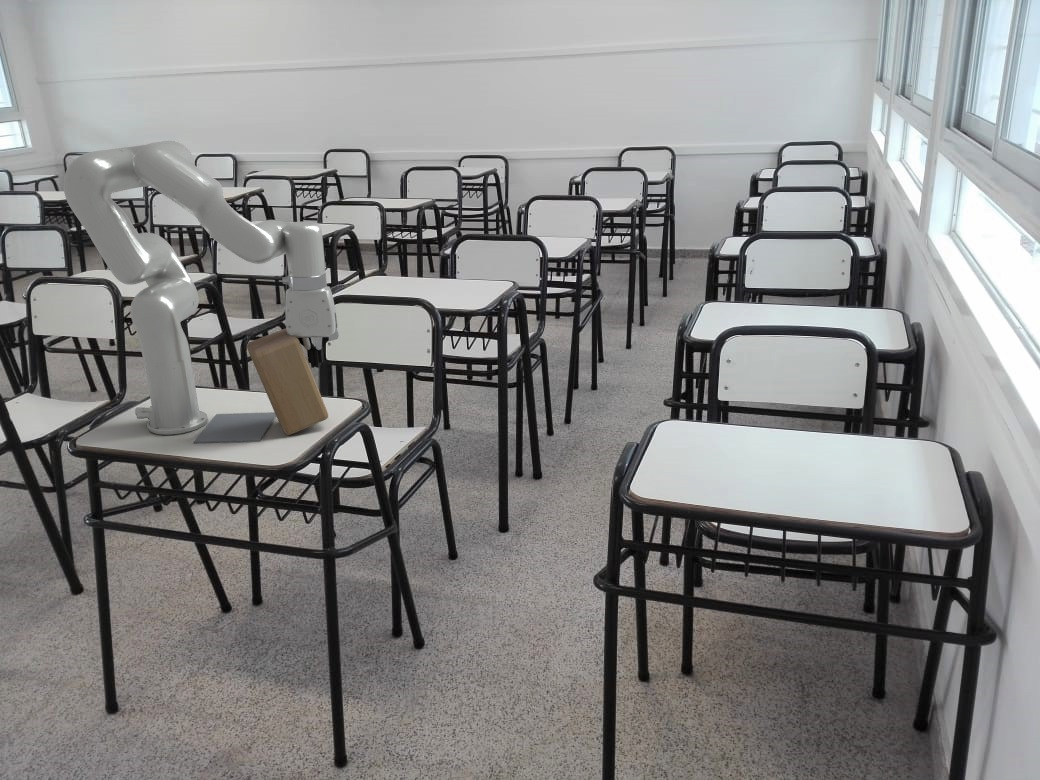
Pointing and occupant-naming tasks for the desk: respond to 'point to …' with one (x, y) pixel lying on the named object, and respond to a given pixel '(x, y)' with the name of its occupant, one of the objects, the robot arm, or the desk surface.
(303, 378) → the wooden block
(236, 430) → the mat
